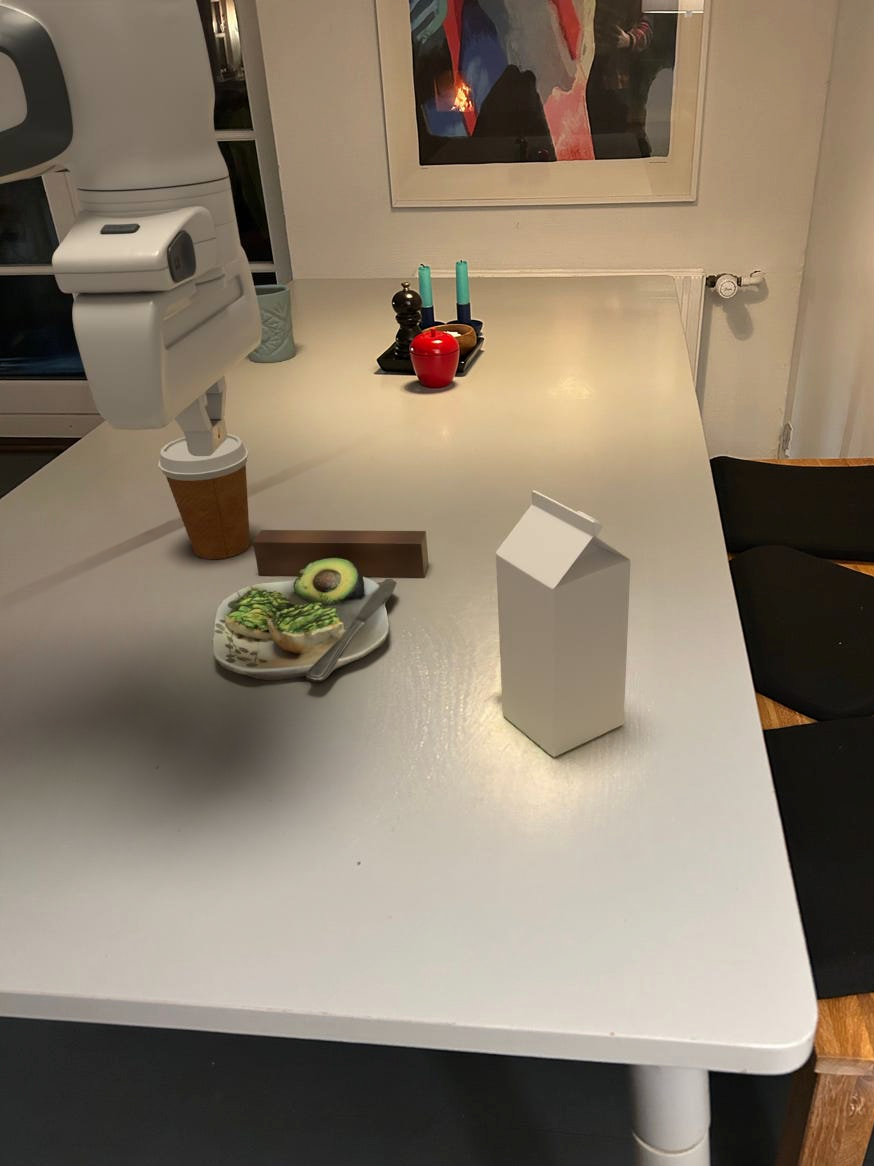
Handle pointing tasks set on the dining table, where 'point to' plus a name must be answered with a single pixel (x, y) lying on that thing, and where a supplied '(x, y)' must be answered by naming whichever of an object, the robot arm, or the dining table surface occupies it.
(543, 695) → the milk carton
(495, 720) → the dining table surface
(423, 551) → the rail
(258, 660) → the salad plate
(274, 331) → the drinking glass
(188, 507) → the disposable coffee cup
